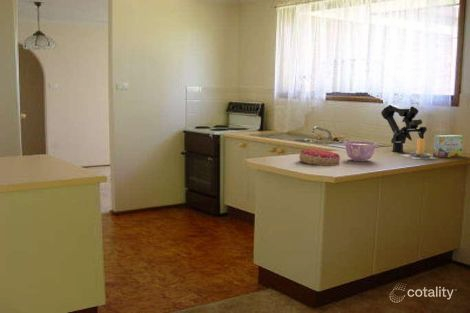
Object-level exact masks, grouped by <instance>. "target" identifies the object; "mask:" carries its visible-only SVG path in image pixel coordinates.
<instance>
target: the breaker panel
mask: <svg viewBox="0 0 470 313" xmlns="http://www.w3.org/2000/svg"><path fill="white" fill-rule="evenodd" d="M416 152H417V150H415V151H413V152H412V151H411V152H409V154H400V156H401V157H405V158H407V159H411V160H414V161H415V160H438V158H439V157H434V156H433V154H432V155H431V153H424V154H416Z"/></svg>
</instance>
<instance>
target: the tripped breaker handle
mask: <svg viewBox="0 0 470 313" xmlns="http://www.w3.org/2000/svg"><path fill="white" fill-rule="evenodd" d="M416 142H417V143H416V151H417V152H416V151H415V152H416V154H425V148H426V138H424V139H421V138H417V140H416Z"/></svg>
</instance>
